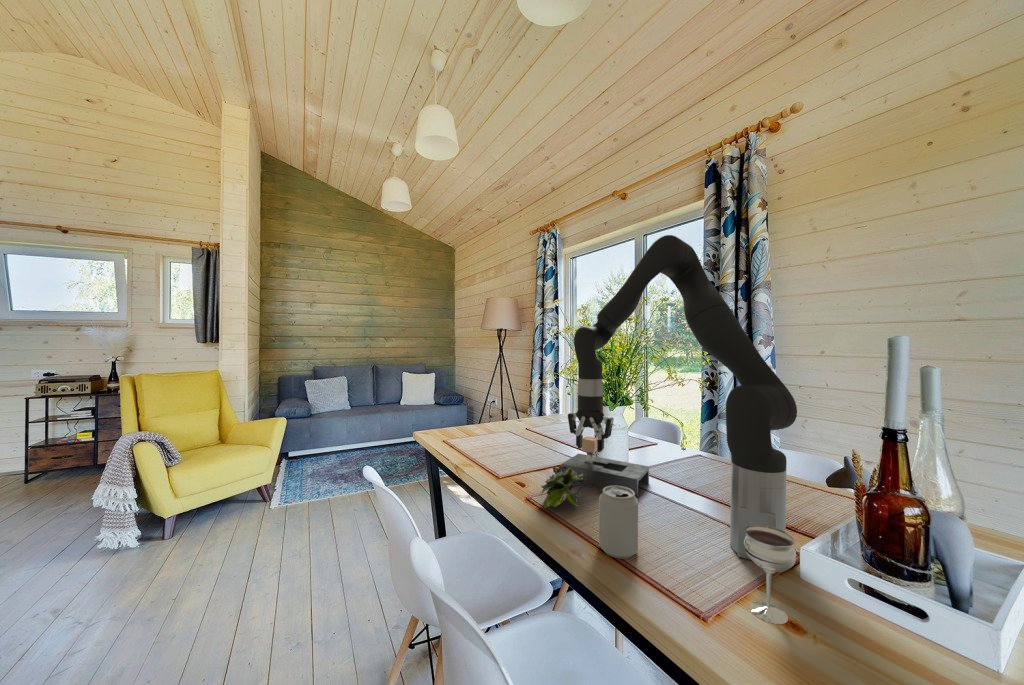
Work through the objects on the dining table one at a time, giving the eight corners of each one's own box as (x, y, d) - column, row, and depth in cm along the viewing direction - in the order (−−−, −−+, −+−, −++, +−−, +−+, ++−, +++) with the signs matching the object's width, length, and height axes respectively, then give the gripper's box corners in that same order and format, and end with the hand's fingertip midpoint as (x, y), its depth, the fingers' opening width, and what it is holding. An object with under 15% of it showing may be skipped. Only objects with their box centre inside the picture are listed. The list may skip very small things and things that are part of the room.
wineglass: (776, 634, 55) (777, 551, 55) (733, 604, 61) (733, 529, 61) (805, 620, 58) (807, 541, 58) (761, 592, 64) (762, 521, 64)
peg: (594, 482, 112) (594, 441, 112) (580, 479, 115) (580, 439, 115) (599, 477, 116) (599, 438, 116) (585, 475, 118) (586, 435, 118)
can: (617, 565, 72) (617, 501, 72) (591, 545, 79) (591, 487, 78) (646, 554, 75) (646, 493, 75) (619, 536, 82) (619, 480, 82)
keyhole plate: (637, 498, 102) (637, 479, 102) (561, 480, 114) (561, 463, 114) (648, 483, 112) (649, 466, 112) (578, 468, 124) (578, 453, 124)
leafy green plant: (559, 518, 102) (574, 475, 107) (587, 528, 93) (602, 480, 97) (527, 501, 98) (545, 456, 103) (553, 509, 89) (571, 460, 94)
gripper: (562, 393, 116) (562, 448, 116) (609, 397, 108) (608, 457, 108) (573, 390, 122) (573, 443, 122) (618, 393, 114) (617, 450, 114)
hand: (589, 449), depth 115 cm, fingers open, 5 cm apart
